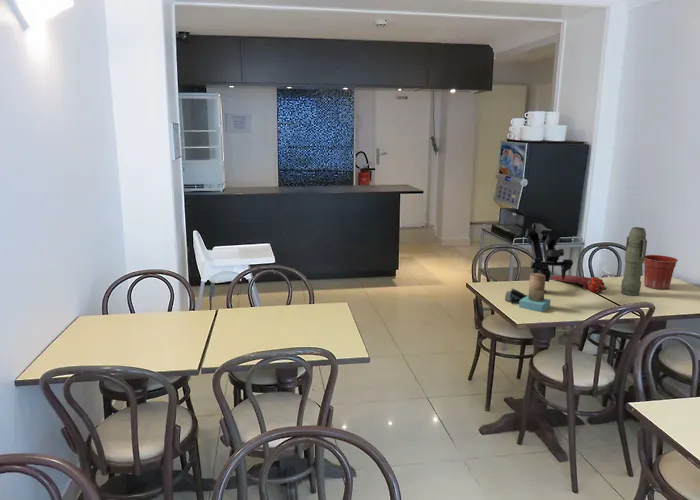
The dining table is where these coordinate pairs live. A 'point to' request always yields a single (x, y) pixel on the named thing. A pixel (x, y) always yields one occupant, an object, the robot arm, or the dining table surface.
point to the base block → (534, 304)
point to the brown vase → (536, 287)
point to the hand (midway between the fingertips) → (553, 279)
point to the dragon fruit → (596, 285)
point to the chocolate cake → (514, 296)
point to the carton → (573, 280)
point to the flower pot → (658, 271)
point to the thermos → (634, 261)
